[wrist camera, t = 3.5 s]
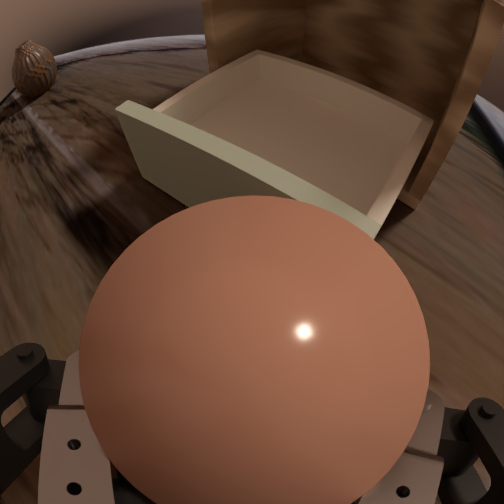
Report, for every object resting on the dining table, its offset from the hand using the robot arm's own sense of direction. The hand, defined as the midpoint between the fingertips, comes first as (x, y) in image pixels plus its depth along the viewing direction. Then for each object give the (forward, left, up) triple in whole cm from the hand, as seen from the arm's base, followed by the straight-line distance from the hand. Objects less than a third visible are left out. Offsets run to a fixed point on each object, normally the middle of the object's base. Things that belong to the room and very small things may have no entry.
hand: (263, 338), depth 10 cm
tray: (-6, +11, -4) cm, 13 cm away
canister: (+1, -1, -5) cm, 5 cm away
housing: (-6, +21, -5) cm, 22 cm away
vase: (-45, +8, -5) cm, 46 cm away
